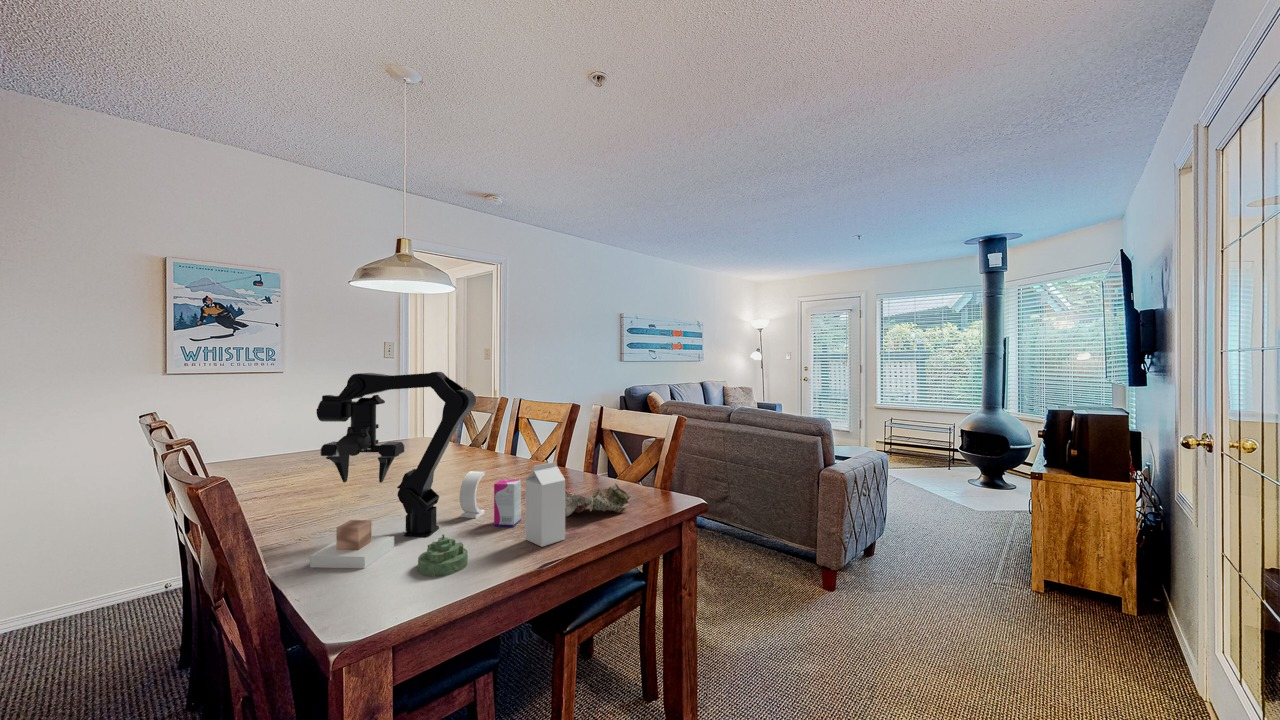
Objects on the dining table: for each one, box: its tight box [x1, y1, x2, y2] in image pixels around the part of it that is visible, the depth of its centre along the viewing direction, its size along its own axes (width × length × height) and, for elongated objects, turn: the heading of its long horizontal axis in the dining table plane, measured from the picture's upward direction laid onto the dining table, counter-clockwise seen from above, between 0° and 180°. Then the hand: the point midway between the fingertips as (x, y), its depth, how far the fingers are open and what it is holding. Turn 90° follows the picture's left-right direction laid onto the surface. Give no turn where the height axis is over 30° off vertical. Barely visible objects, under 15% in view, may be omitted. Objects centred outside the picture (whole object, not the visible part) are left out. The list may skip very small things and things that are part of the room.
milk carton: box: [524, 461, 566, 547], centre depth 123 cm, size 7×7×19 cm
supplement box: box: [493, 479, 522, 528], centre depth 136 cm, size 6×6×12 cm
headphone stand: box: [459, 470, 486, 519], centre depth 142 cm, size 5×6×12 cm
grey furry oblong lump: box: [565, 483, 631, 518], centre depth 145 cm, size 25×16×8 cm, turn 138°
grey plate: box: [309, 535, 395, 569], centre depth 112 cm, size 12×12×2 cm
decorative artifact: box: [417, 533, 469, 577], centre depth 108 cm, size 10×7×10 cm
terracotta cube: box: [335, 519, 372, 550], centre depth 112 cm, size 5×5×5 cm
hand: (363, 482), depth 128 cm, fingers open, 9 cm apart
